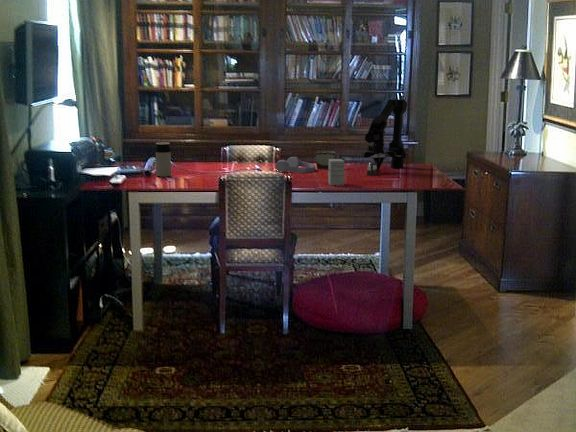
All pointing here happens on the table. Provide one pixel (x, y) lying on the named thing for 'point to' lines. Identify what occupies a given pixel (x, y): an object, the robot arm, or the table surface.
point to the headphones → (294, 165)
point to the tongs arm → (374, 170)
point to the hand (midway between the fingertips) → (378, 169)
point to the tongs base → (370, 166)
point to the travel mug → (163, 159)
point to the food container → (324, 158)
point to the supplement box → (336, 172)
